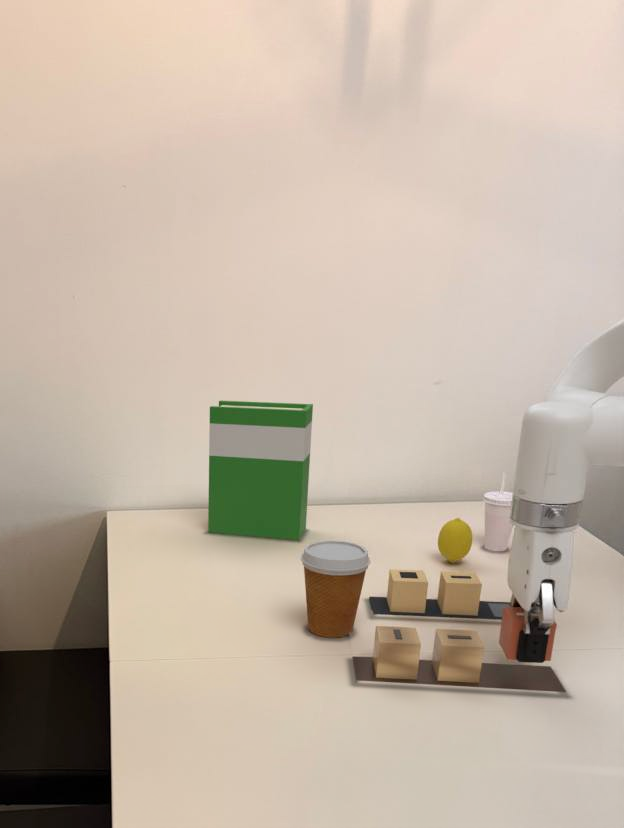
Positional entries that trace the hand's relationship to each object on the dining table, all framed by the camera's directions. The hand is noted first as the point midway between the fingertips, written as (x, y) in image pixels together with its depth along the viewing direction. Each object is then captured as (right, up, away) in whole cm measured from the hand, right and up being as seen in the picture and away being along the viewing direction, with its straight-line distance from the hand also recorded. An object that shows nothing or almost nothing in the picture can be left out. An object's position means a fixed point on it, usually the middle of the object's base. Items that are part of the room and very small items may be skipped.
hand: (524, 649), depth 108 cm
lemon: (+6, +13, +42) cm, 44 cm away
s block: (0, 0, 0) cm, 0 cm away
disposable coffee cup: (-21, +2, +17) cm, 27 cm away
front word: (-8, -3, +2) cm, 9 cm away
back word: (-1, +5, +22) cm, 22 cm away
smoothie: (+16, +16, +48) cm, 54 cm away
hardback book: (-26, +20, +60) cm, 69 cm away
